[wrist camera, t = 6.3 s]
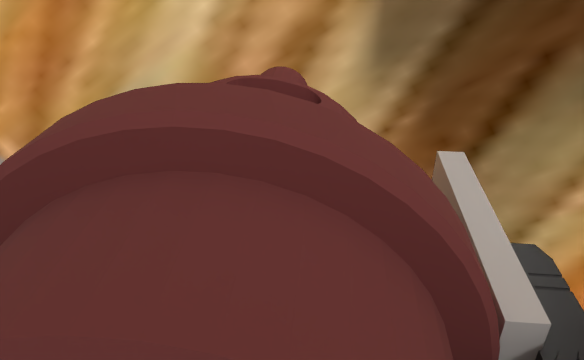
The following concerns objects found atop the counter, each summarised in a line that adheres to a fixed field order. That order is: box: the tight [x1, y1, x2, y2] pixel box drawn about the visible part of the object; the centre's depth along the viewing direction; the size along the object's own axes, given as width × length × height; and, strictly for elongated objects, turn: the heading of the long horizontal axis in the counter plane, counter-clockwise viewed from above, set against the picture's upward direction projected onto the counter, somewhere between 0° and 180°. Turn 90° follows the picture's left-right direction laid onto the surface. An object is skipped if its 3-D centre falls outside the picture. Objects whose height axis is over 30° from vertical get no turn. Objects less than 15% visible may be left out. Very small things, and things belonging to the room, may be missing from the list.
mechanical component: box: [0, 67, 500, 360], centre depth 11 cm, size 12×10×10 cm
